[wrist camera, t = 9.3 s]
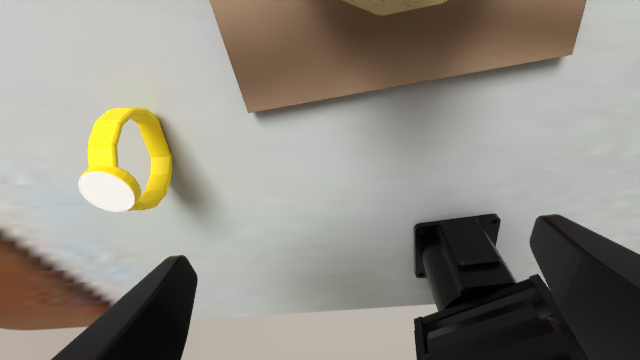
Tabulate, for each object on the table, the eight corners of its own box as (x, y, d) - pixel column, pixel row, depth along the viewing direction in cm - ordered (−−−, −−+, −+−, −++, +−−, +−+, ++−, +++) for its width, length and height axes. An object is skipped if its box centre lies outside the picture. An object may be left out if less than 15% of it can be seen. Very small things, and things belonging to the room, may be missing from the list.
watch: (189, 170, 23) (156, 233, 18) (152, 171, 23) (109, 234, 18) (160, 92, 19) (107, 146, 14) (114, 93, 19) (48, 148, 14)
